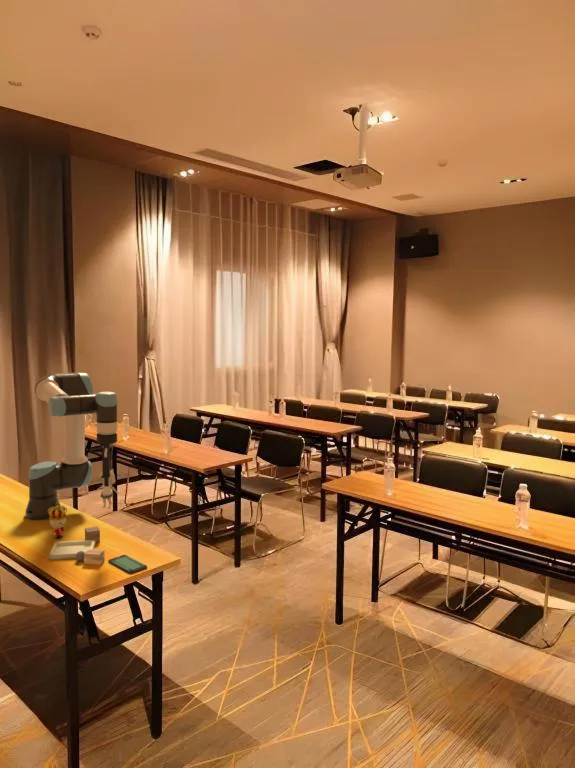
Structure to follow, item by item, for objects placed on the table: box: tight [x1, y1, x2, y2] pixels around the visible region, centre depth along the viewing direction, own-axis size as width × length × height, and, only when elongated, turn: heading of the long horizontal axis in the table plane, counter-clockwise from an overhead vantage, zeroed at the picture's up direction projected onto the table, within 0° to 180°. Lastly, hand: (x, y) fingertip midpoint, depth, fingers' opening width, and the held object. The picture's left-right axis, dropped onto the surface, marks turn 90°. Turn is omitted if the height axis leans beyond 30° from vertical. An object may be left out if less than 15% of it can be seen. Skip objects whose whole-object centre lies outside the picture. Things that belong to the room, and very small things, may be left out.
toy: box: [48, 501, 68, 539], centre depth 232 cm, size 7×7×15 cm
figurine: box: [96, 470, 120, 509], centre depth 221 cm, size 10×6×15 cm, turn 70°
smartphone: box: [107, 554, 148, 575], centre depth 208 cm, size 7×1×15 cm
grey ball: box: [75, 551, 85, 562], centre depth 211 cm, size 4×4×4 cm
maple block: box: [83, 548, 106, 566], centre depth 210 cm, size 4×6×4 cm, turn 84°
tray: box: [48, 539, 96, 561], centre depth 219 cm, size 13×15×2 cm
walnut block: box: [84, 525, 101, 544], centre depth 230 cm, size 5×5×5 cm
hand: (107, 491), depth 221 cm, fingers closed on figurine, 6 cm apart
